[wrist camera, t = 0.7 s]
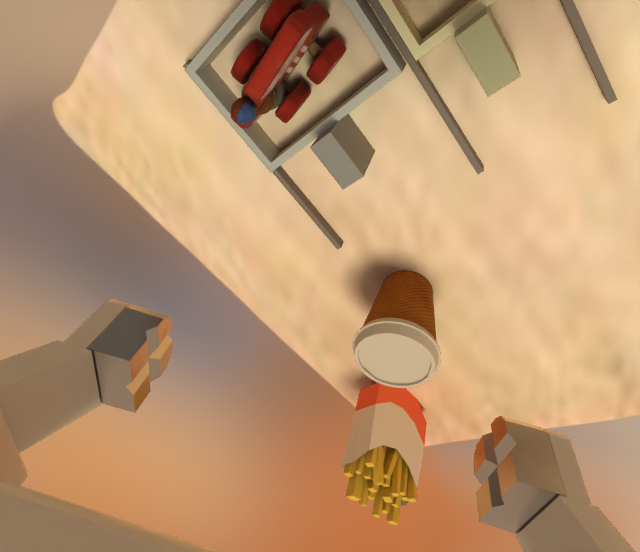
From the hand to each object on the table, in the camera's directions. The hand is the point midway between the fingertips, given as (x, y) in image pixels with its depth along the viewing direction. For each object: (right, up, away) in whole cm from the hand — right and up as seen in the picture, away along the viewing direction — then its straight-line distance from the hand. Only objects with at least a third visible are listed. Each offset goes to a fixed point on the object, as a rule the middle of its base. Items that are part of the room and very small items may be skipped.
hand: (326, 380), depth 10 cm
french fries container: (+12, -16, +57) cm, 60 cm away
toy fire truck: (-3, +24, +30) cm, 38 cm away
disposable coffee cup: (+11, +1, +43) cm, 45 cm away
